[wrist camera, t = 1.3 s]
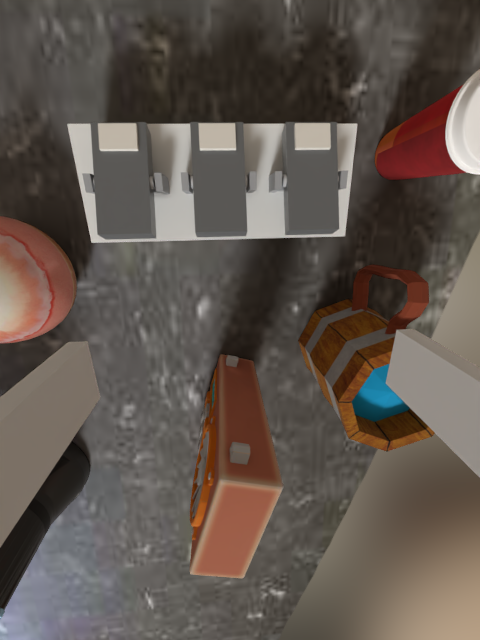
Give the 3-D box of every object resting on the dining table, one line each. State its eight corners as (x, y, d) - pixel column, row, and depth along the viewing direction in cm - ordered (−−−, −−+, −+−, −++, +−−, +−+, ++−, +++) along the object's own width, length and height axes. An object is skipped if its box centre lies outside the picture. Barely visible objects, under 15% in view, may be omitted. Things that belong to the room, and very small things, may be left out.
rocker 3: (282, 235, 25) (287, 229, 23) (279, 134, 24) (284, 119, 23) (334, 233, 25) (342, 227, 23) (331, 133, 25) (340, 119, 23)
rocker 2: (194, 237, 24) (192, 231, 23) (190, 134, 24) (187, 119, 22) (248, 236, 25) (250, 230, 23) (244, 134, 24) (245, 119, 22)
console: (119, 237, 35) (75, 245, 24) (103, 143, 31) (44, 105, 21) (319, 232, 36) (359, 238, 26) (326, 142, 33) (376, 106, 22)
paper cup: (419, 188, 35) (538, 171, 22) (362, 189, 35) (448, 172, 22) (433, 116, 32) (578, 46, 19) (371, 116, 32) (476, 45, 19)
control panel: (196, 423, 46) (217, 345, 41) (236, 430, 47) (261, 354, 42) (178, 583, 26) (215, 466, 21) (249, 588, 27) (299, 478, 22)
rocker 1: (103, 239, 24) (93, 233, 22) (96, 134, 24) (85, 119, 22) (158, 238, 24) (153, 232, 22) (153, 134, 24) (147, 119, 22)
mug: (373, 377, 45) (443, 450, 31) (293, 378, 44) (328, 453, 30) (402, 257, 38) (508, 279, 24) (308, 254, 37) (362, 276, 23)
